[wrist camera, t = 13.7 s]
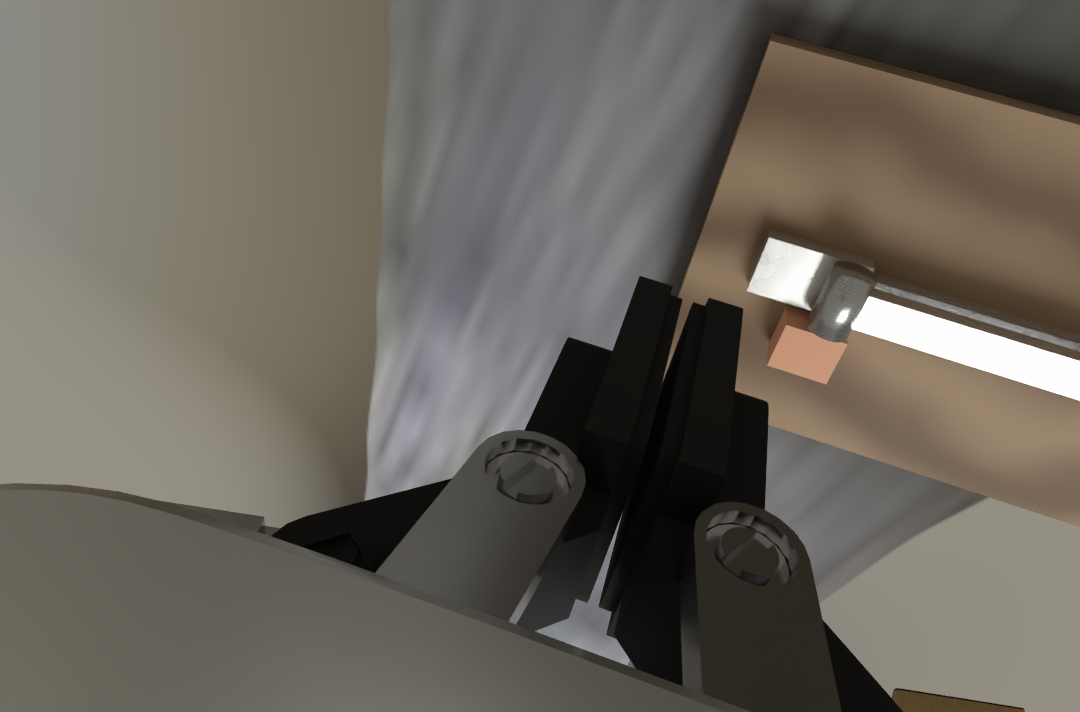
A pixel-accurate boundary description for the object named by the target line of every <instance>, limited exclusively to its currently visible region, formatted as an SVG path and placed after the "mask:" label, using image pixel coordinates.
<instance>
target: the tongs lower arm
mask: <svg viewBox="0 0 1080 712" xmlns="http://www.w3.org/2000/svg"><path fill="white" fill-rule="evenodd" d="M838 261H849V262H854V263H857V264H859V265H862V266H864V267H866V268H868V269H869V270H871V271H872V272H874V270H875V268H874V263H873V260H871V259H868V258H865V257H861V256H858V255H855V254H851V253H848V252H845V251H841V250H838V249H835V248H831V247H828V246H825V245H821V244H818V243H815V242H811V241H808V240H805V239H801V238H798V237H795V236H791V235H788V234H785V233H781V232H778V231H775V230H771V229H770V230H769V232H768V234H767V237H766V239H765V242H764V244H763V246H762V249H761V251H760V254H759V256H758V258H757V261H756V263H755V265H754V268H753V270H752V273H751V275H750V277H749V280H748V284H747V291H748V292H752V293H755V294H758V295H761V296H765V297H768V298H771V299H774V300H777V301H781V302H784V303H787V304H790V305H794V306H797V307H800V308H803V309H807V310H810V311H812V309H813V307H814V305H815V303H816V301H817V299H818V297H819V295H820V293H821V291H822V289H823V287H824V284H825V282H826V280H827V278H828V276H829V274H830V272H831V270H832V268H833V266H834V264H835V263H836V262H838ZM874 274H875V275H876V276H877V277H878V282H877V284H876V286H875V289H878V290H881V291H884V292H888V293H891V294H894V295H898V296H901V297H904V298H907V299H911V300H914V301H917V302H920V303H924V304H927V305H930V306H933V307H937V308H940V309H943V310H946V311H950V312H953V313H956V314H959V315H963V316H966V317H969V318H972V319H976V320H979V321H982V322H986V323H989V324H992V325H995V326H999V327H1002V328H1005V329H1008V330H1012V331H1015V332H1018V333H1021V334H1025V335H1028V336H1031V337H1034V338H1038V339H1041V340H1044V341H1047V342H1051V343H1054V344H1057V345H1060V346H1064V347H1067V348H1070V349H1074V350H1077V351H1080V335H1079V334H1076V333H1072V332H1069V331H1066V330H1062V329H1059V328H1056V327H1052V326H1049V325H1046V324H1042V323H1039V322H1036V321H1032V320H1029V319H1026V318H1022V317H1019V316H1016V315H1012V314H1009V313H1006V312H1003V311H999V310H996V309H993V308H989V307H986V306H983V305H979V304H976V303H973V302H969V301H966V300H963V299H959V298H956V297H953V296H949V295H946V294H943V293H939V292H936V291H933V290H930V289H926V288H923V287H920V286H916V285H913V284H910V283H906V282H903V281H900V280H896V279H893V278H890V277H886V276H883V275H880V274H876V273H874Z"/></svg>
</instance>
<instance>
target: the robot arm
mask: <svg viewBox="0 0 1080 712" xmlns="http://www.w3.org/2000/svg"><path fill="white" fill-rule="evenodd" d="M671 290H672V286H670V285H667V284H664V283H661V282H658V281H654V280H651V279H648V278H645V277H642V276H640V277H639V279H638V282H637V285H636V288H635V290H634V293H633V296H632V299H631V302H630V304H629V307H628V310H627V313H626V315H625V318H624V321H623V324H622V327H621V329H620V332H619V335H618V338H617V340H616V343H615V346H614V349H613V351H610V350H607V349H604V348H601V347H598V346H595V345H592V344H589V343H586V342H583V341H580V340H576V339H573V338H570V337H569V338H568V339H567V340H566V342H565V344H564V347H563V349H562V351H561V353H560V355H559V357H558V360H557V362H556V364H555V366H554V368H553V370H552V372H551V375H550V377H549V379H548V381H547V383H546V385H545V388H544V390H543V392H542V394H541V396H540V398H539V401H538V403H537V405H536V407H535V409H534V411H533V413H532V416H531V418H530V420H529V422H528V424H527V426H526V429H525V431H523V430H515V431H506V432H502V433H499V434H496V435H494V436H491V437H489V438H488V439H487V440H485V441H484V442H483V443H482V444H481V445H479V446H478V448H477V449H476V450H475V451H474V453H473V454H472V455H471V456H470V457H469V459H468V460H467V461H466V462H465V464H464V465H463V466H462V467H461V468H460V470H459V471H458V472H457V473H456V475H455V476H454V477H453V478H452V479H448V480H444V481H441V482H437V483H433V484H429V485H425V486H421V487H417V488H413V489H410V490H406V491H402V492H398V493H394V494H390V495H386V496H382V497H379V498H375V499H371V500H367V501H363V502H359V503H355V504H351V505H348V506H344V507H340V508H336V509H332V510H329V511H325V512H320V513H317V514H313V515H309V516H306V517H303V518H300V519H298V520H295V521H293V522H290V523H288V524H286V525H285V526H283V527H282V528H275V527H268V526H265V523H264V517H262V516H256V515H249V514H243V513H236V512H229V511H223V510H216V509H210V508H203V507H197V506H190V505H184V504H176V503H170V502H164V501H158V500H153V499H149V498H145V497H140V496H136V495H132V494H128V493H123V492H119V491H111V490H103V489H95V488H88V487H81V486H73V485H54V484H52V485H51V484H22V483H14V484H0V712H903V711H902V710H901V708H900V707H899V706H898V705H897V704H896V703H895V702H894V700H893V699H892V698H891V697H890V696H889V695H888V694H887V693H886V691H885V690H884V689H883V688H882V687H881V686H880V685H879V684H878V682H877V681H876V680H875V679H874V678H873V677H872V675H871V674H870V673H869V672H868V671H867V670H866V669H865V668H864V666H863V665H862V664H861V663H860V662H859V661H858V660H857V658H856V657H855V656H854V655H853V654H852V653H851V652H850V650H849V649H848V648H847V647H846V646H845V645H844V644H843V643H842V642H841V640H840V639H839V638H838V637H837V636H836V635H835V633H834V632H833V631H832V630H831V629H830V628H829V626H828V625H827V624H826V623H825V622H824V621H823V620H822V616H821V610H820V606H819V601H818V596H817V591H816V587H815V582H814V577H813V572H812V567H811V563H810V559H809V557H808V554H807V551H806V549H805V546H804V545H803V543H802V542H801V540H800V539H799V538H798V536H797V535H796V534H795V532H794V531H793V530H792V529H791V528H789V527H788V526H787V525H786V524H785V523H784V522H783V521H782V520H780V519H779V518H777V517H776V516H774V515H772V514H770V513H769V512H767V511H765V489H766V464H767V440H768V416H769V406H768V403H767V401H764V400H761V399H758V398H755V397H752V396H749V395H746V394H743V393H740V392H737V391H735V385H736V376H737V366H738V357H739V347H740V338H741V329H742V319H743V308H741V307H738V306H734V305H731V304H728V303H725V302H722V301H718V300H715V299H712V298H709V299H708V300H707V303H706V305H705V306H704V305H701V304H697V303H694V302H693V303H692V306H691V308H690V311H689V313H688V316H687V319H686V321H685V324H684V327H683V329H682V332H681V335H680V337H679V340H678V343H677V345H676V348H675V351H674V353H673V356H672V359H671V361H670V364H669V367H668V369H667V372H666V375H665V378H664V374H665V370H666V366H667V362H668V358H669V354H670V350H671V346H672V341H673V337H674V333H675V329H676V325H677V321H678V317H679V313H680V309H681V305H682V300H683V299H682V298H678V297H675V296H672V295H670V294H671ZM663 378H664V380H663ZM662 382H663V383H662ZM622 512H623V513H622ZM621 514H622V517H621ZM620 517H621V521H620V525H619V529H618V533H617V536H616V540H615V544H614V548H613V552H612V556H611V560H610V564H609V568H608V571H607V575H606V579H605V583H604V587H603V591H602V595H601V599H600V603H599V607H600V608H603V609H606V610H608V611H611V612H612V613H611V617H610V622H609V626H608V630H607V634H606V635H608V636H611V637H613V638H616V639H617V640H618V642H619V643H620V645H621V646H622V648H623V649H624V651H625V653H626V654H627V656H628V657H629V659H630V661H629V663H628V665H627V666H626V665H624V664H621V663H618V662H616V661H613V660H610V659H608V658H605V657H602V656H599V655H597V654H594V653H591V652H589V651H586V650H583V649H581V648H578V647H575V646H572V645H570V644H567V643H564V642H562V641H559V640H556V639H553V638H551V637H548V636H545V635H543V634H540V633H537V630H539V629H541V628H544V627H547V626H549V625H552V624H554V623H557V622H559V621H562V620H566V619H567V618H569V616H570V613H571V610H572V607H573V605H574V602H575V599H578V600H581V601H584V602H586V603H587V602H588V600H589V598H590V595H591V593H592V590H593V587H594V585H595V582H596V580H597V577H598V574H599V572H600V569H601V567H602V564H603V561H604V559H605V556H606V554H607V551H608V548H609V546H610V543H611V540H612V538H613V535H614V533H615V530H616V527H617V525H618V522H619V520H620Z"/></svg>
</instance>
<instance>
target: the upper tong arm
mask: <svg viewBox="0 0 1080 712" xmlns="http://www.w3.org/2000/svg"><path fill="white" fill-rule="evenodd" d="M877 282H878V277H877V276H876V275H875V274H874V273H873V272H872V271H871V270H869V269H868V268H866V267H864V266H862V265H859V264H857V263H854V262H849V261H838V262H836V263H835V264H834V266H833V268H832V270H831V272H830V274H829V276H828V278H827V280H826V282H825V284H824V287H823V289H822V291H821V293H820V295H819V297H818V299H817V301H816V303H815V305H814V307H813V309H812V311H811V313H810V315H809V317H808V319H807V321H806V325H807V327H808V329H809V330H810V331H811V332H812V333H813V334H815V335H816V336H818V337H820V338H822V339H824V340H827V341H831V342H844V341H846V340H847V338H848V336H849V335H850V333H851V331H852V329H854V330H857V331H860V332H863V333H867V334H870V335H873V336H876V337H879V338H883V339H886V340H889V341H892V342H895V343H899V344H902V345H905V346H908V347H911V348H914V349H918V350H921V351H924V352H927V353H930V354H934V355H937V356H940V357H943V358H946V359H949V360H953V361H956V362H959V363H962V364H965V365H969V366H972V367H975V368H978V369H981V370H985V371H988V372H991V373H994V374H997V375H1000V376H1004V377H1007V378H1010V379H1013V380H1016V381H1020V382H1023V383H1026V384H1029V385H1032V386H1035V387H1039V388H1042V389H1045V390H1048V391H1051V392H1055V393H1058V394H1061V395H1064V396H1067V397H1071V398H1074V399H1077V400H1080V351H1077V350H1074V349H1070V348H1067V347H1064V346H1060V345H1057V344H1054V343H1051V342H1047V341H1044V340H1041V339H1038V338H1034V337H1031V336H1028V335H1025V334H1021V333H1018V332H1015V331H1012V330H1008V329H1005V328H1002V327H999V326H995V325H992V324H989V323H986V322H982V321H979V320H976V319H972V318H969V317H966V316H963V315H959V314H956V313H953V312H950V311H946V310H943V309H940V308H937V307H933V306H930V305H927V304H924V303H920V302H917V301H914V300H911V299H907V298H904V297H901V296H898V295H894V294H891V293H888V292H884V291H881V290H878V289H875V286H876V284H877Z"/></svg>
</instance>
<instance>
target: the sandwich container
mask: <svg viewBox="0 0 1080 712" xmlns="http://www.w3.org/2000/svg"><path fill="white" fill-rule="evenodd" d="M892 699H893V700H894V702H895V703H896V704H897V705H898V706H899V707H900V708H901V710H902V711H903V712H1025V711H1024V708H1020V707H1014V706H1008V705H1002V704H995V703H989V702H982V701H976V700H970V699H964V698H958V697H951V696H945V695H939V694H933V693H926V692H920V691H914V690H907V689H900V688H895V689H894V691H893V695H892Z"/></svg>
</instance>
